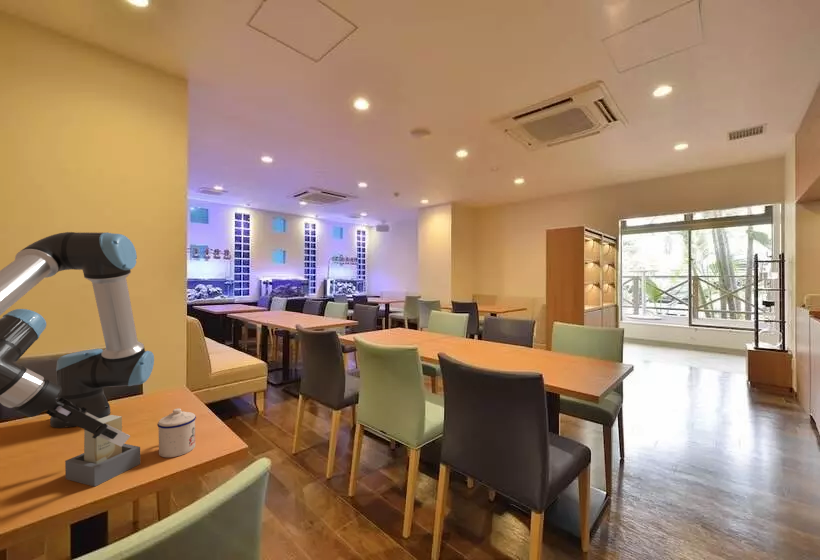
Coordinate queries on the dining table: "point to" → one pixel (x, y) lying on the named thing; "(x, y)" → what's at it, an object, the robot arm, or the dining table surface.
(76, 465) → the tray
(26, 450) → the dining table surface
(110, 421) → the skincare box
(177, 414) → the teacup with lid
